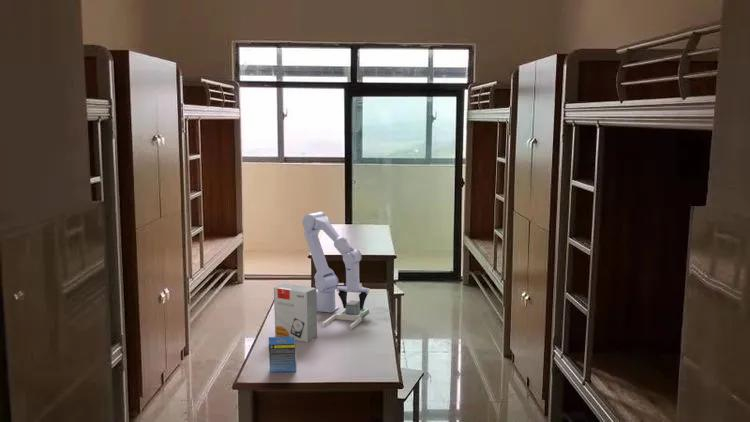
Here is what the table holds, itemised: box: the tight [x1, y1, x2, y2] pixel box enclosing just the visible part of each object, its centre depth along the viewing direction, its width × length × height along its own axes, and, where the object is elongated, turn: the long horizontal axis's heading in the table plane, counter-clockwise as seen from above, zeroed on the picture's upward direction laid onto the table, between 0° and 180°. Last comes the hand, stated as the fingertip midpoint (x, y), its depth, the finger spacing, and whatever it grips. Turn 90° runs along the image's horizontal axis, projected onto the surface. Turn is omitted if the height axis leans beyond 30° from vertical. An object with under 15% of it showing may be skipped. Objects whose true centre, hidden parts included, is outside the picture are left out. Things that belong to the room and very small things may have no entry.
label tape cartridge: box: [268, 336, 297, 373], centre depth 222 cm, size 9×4×12 cm, turn 92°
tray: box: [338, 307, 370, 318], centre depth 286 cm, size 10×12×2 cm
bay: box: [321, 313, 363, 330], centre depth 274 cm, size 13×12×2 cm
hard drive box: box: [273, 283, 318, 343], centre depth 256 cm, size 16×8×20 cm, turn 62°
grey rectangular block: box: [345, 300, 360, 315], centre depth 285 cm, size 4×7×5 cm, turn 161°
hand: (353, 308), depth 285 cm, fingers open, 7 cm apart
